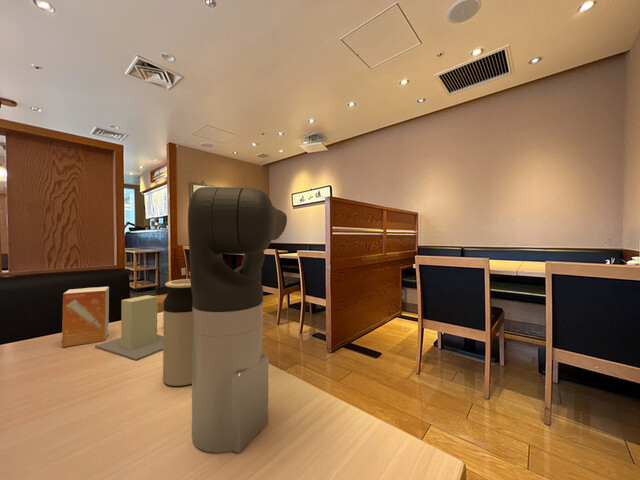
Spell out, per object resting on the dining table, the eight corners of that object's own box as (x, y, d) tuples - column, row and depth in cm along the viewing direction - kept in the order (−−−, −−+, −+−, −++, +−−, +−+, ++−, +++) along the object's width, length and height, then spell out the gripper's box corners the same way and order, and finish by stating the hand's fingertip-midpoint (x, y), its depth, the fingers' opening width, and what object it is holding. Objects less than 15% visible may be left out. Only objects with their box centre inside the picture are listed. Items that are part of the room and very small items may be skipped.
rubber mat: (182, 342, 65) (182, 340, 65) (136, 360, 55) (136, 358, 55) (142, 332, 72) (142, 330, 72) (94, 347, 62) (94, 345, 62)
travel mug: (154, 379, 48) (154, 282, 48) (193, 362, 55) (194, 277, 55) (179, 392, 44) (180, 286, 44) (218, 372, 51) (219, 280, 51)
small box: (61, 348, 61) (61, 293, 61) (68, 339, 67) (68, 288, 67) (105, 341, 66) (106, 289, 66) (109, 333, 71) (109, 286, 71)
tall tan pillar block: (157, 340, 65) (157, 296, 65) (131, 349, 60) (131, 301, 60) (147, 337, 67) (147, 295, 67) (121, 346, 62) (121, 300, 62)
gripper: (198, 271, 87) (149, 276, 72) (230, 273, 81) (185, 279, 66) (197, 294, 87) (148, 304, 72) (230, 297, 81) (184, 309, 66)
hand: (166, 292), depth 69 cm, fingers open, 8 cm apart
